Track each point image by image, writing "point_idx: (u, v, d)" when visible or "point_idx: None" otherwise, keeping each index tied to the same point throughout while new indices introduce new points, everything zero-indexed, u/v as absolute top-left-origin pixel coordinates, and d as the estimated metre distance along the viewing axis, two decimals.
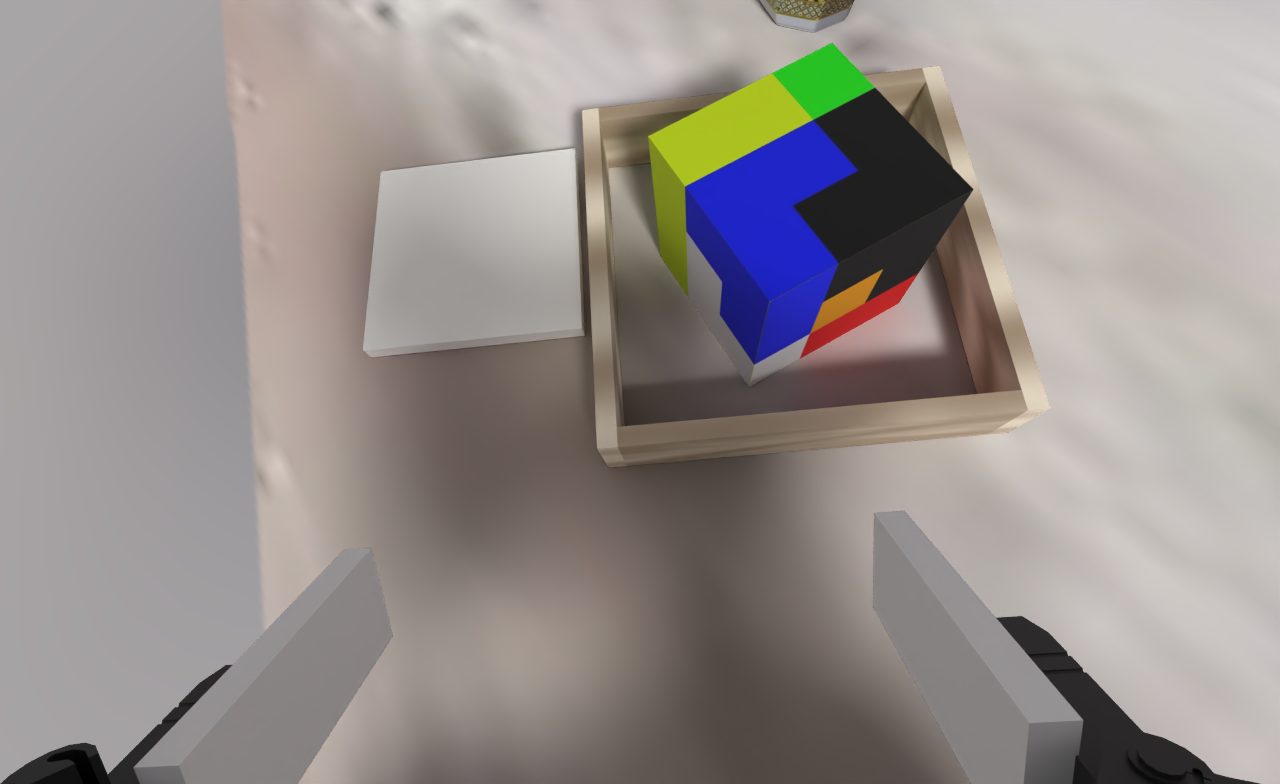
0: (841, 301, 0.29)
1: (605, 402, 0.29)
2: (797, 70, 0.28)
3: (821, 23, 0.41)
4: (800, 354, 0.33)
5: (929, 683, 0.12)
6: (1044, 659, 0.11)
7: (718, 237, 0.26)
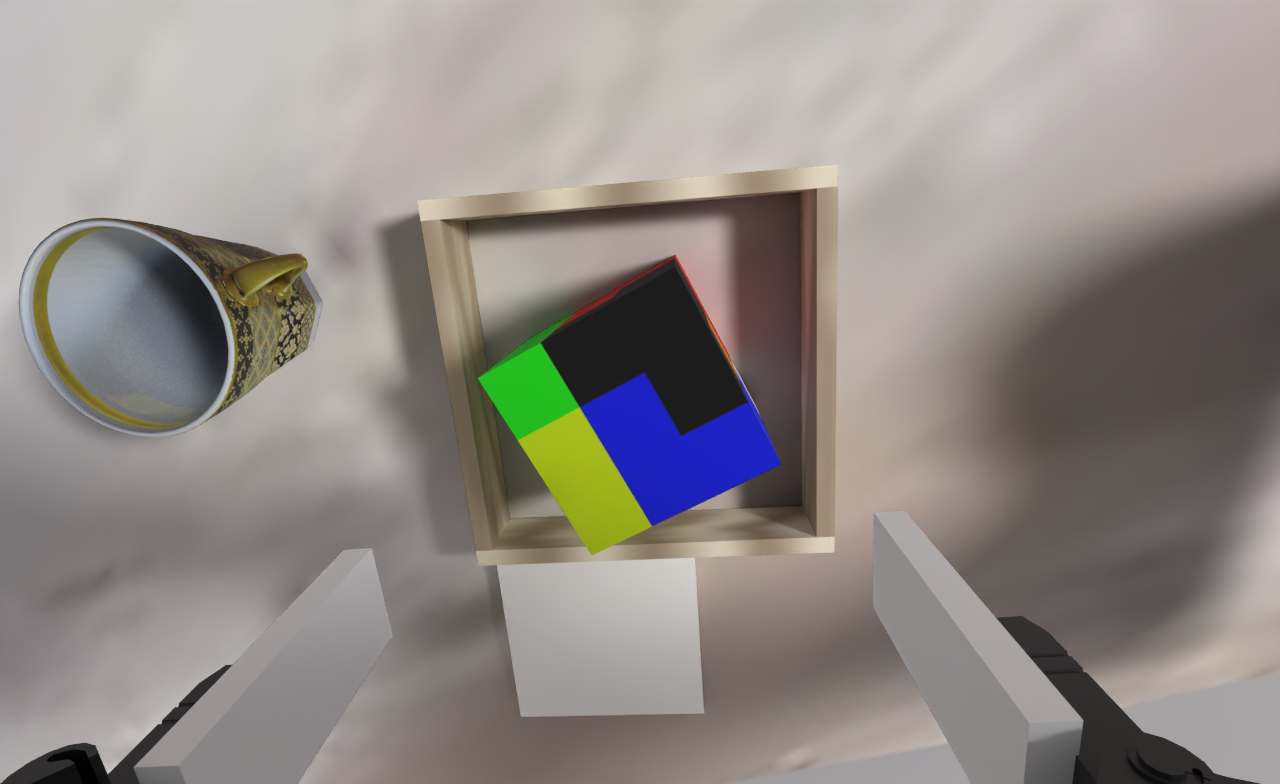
0: (725, 354, 0.30)
1: (793, 545, 0.34)
2: (514, 415, 0.27)
3: (315, 296, 0.36)
4: (730, 358, 0.35)
5: (929, 684, 0.12)
6: (1044, 659, 0.11)
7: (705, 497, 0.28)
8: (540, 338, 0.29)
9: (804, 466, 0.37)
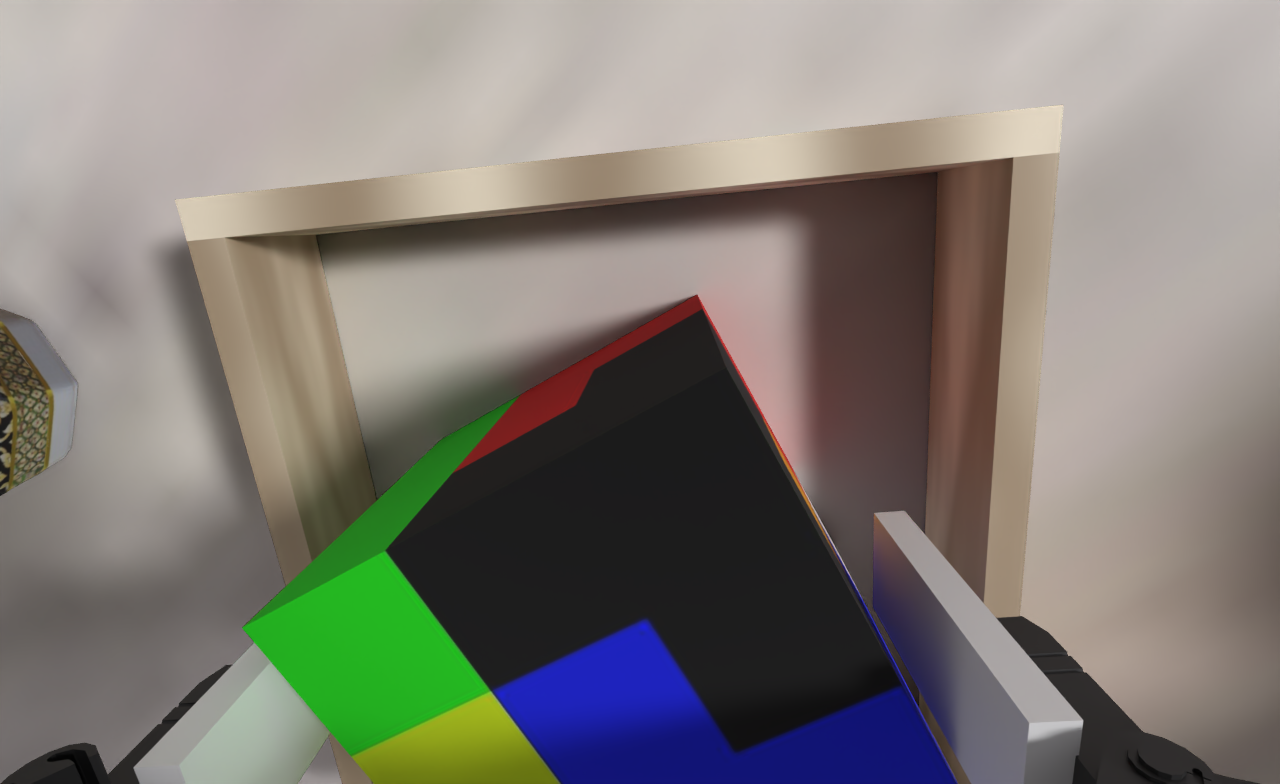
0: (811, 509, 0.15)
1: None
2: (337, 706, 0.11)
3: (56, 376, 0.20)
4: (797, 477, 0.20)
5: (929, 683, 0.12)
6: (1044, 659, 0.11)
7: None
8: (420, 492, 0.14)
9: None
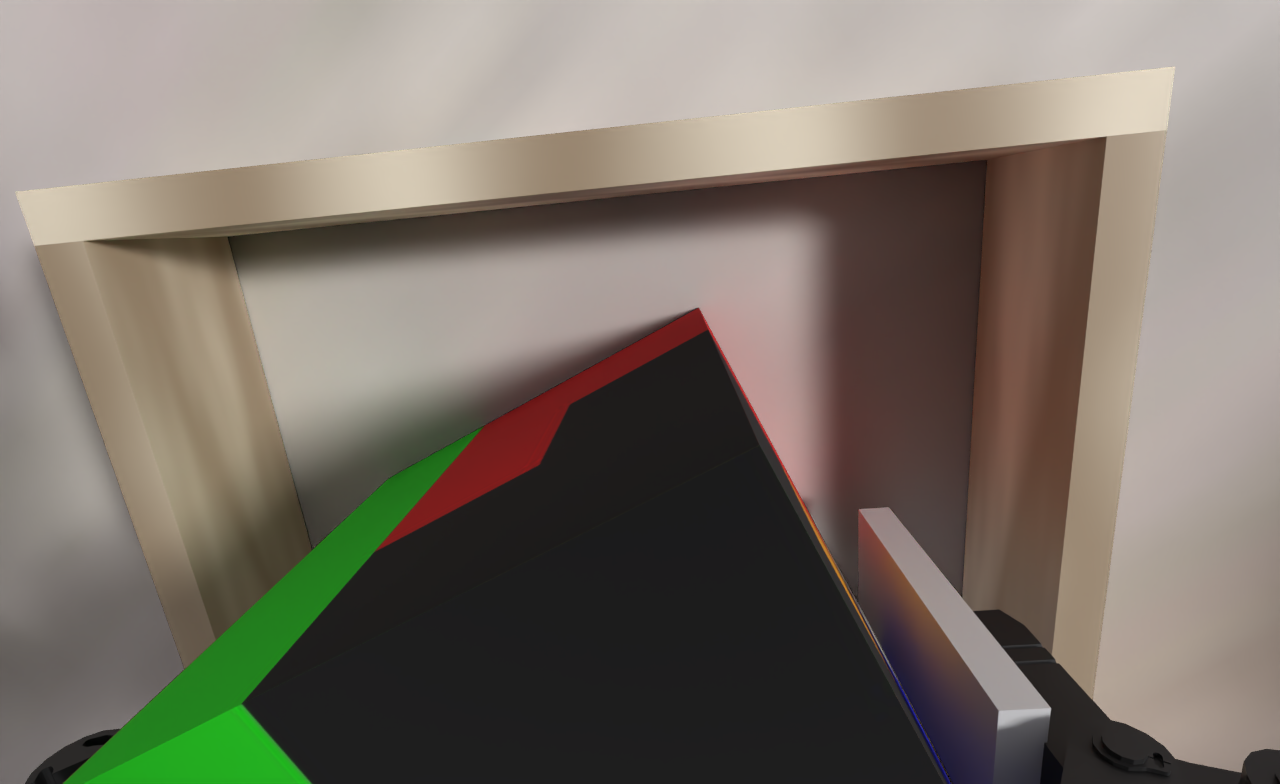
0: None
1: None
2: None
3: None
4: None
5: (909, 675, 0.12)
6: (1019, 651, 0.11)
7: None
8: (331, 577, 0.10)
9: None
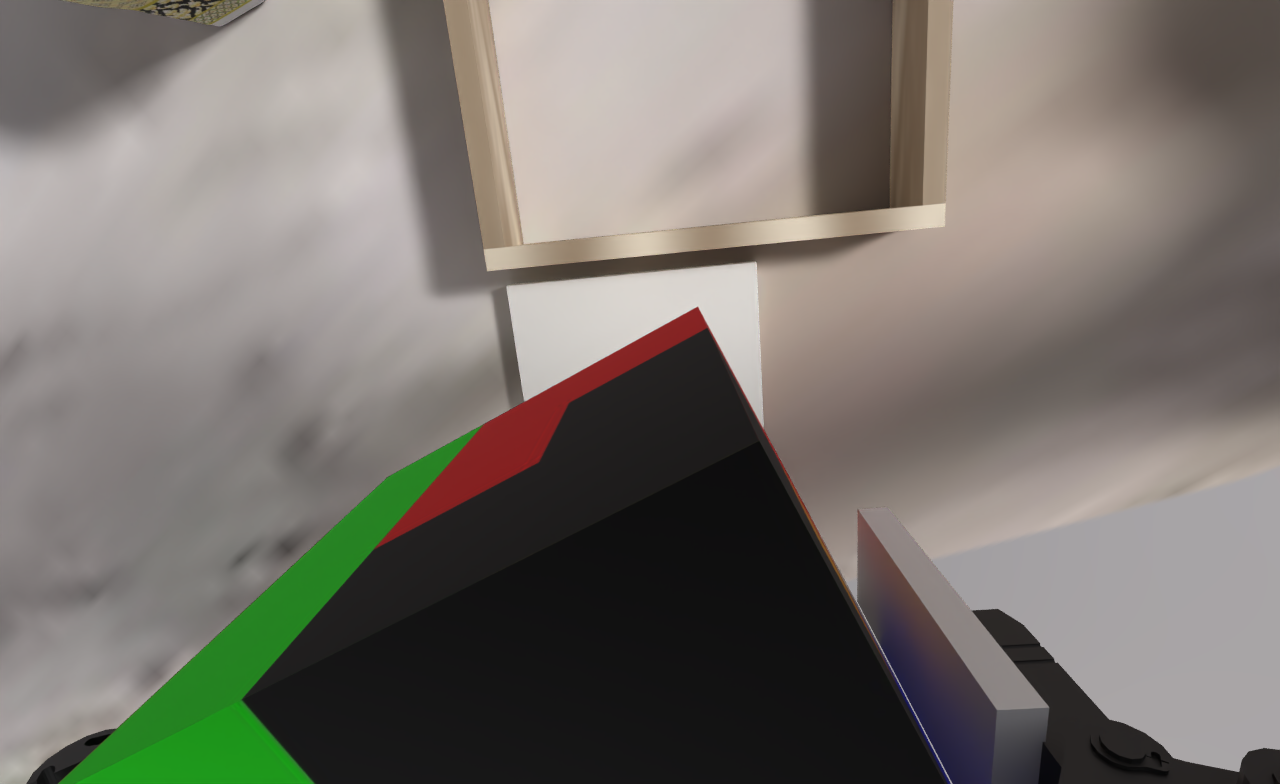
0: (846, 589, 0.11)
1: (892, 219, 0.27)
2: None
3: None
4: None
5: (909, 675, 0.12)
6: (1017, 650, 0.11)
7: None
8: (330, 574, 0.10)
9: (896, 143, 0.29)
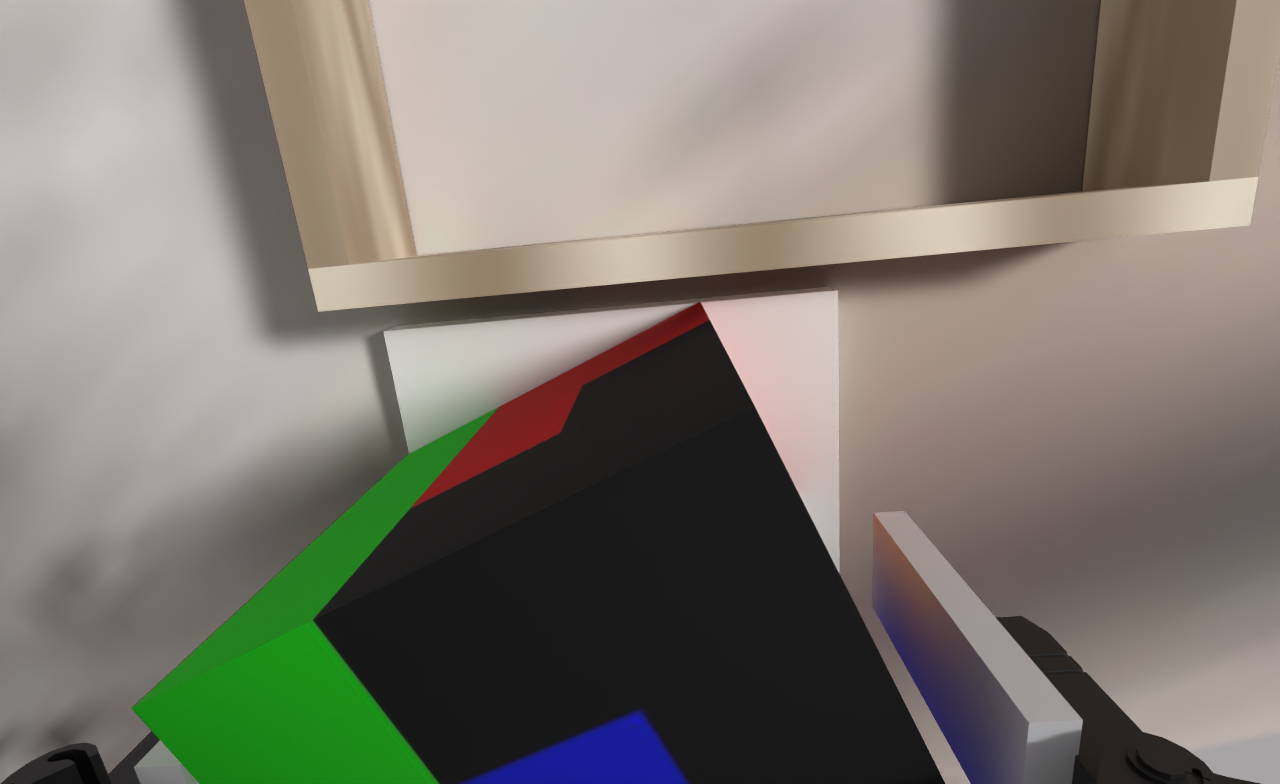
0: None
1: (1142, 210, 0.13)
2: None
3: None
4: None
5: (929, 683, 0.12)
6: (1044, 659, 0.11)
7: None
8: (371, 530, 0.11)
9: (1114, 65, 0.15)
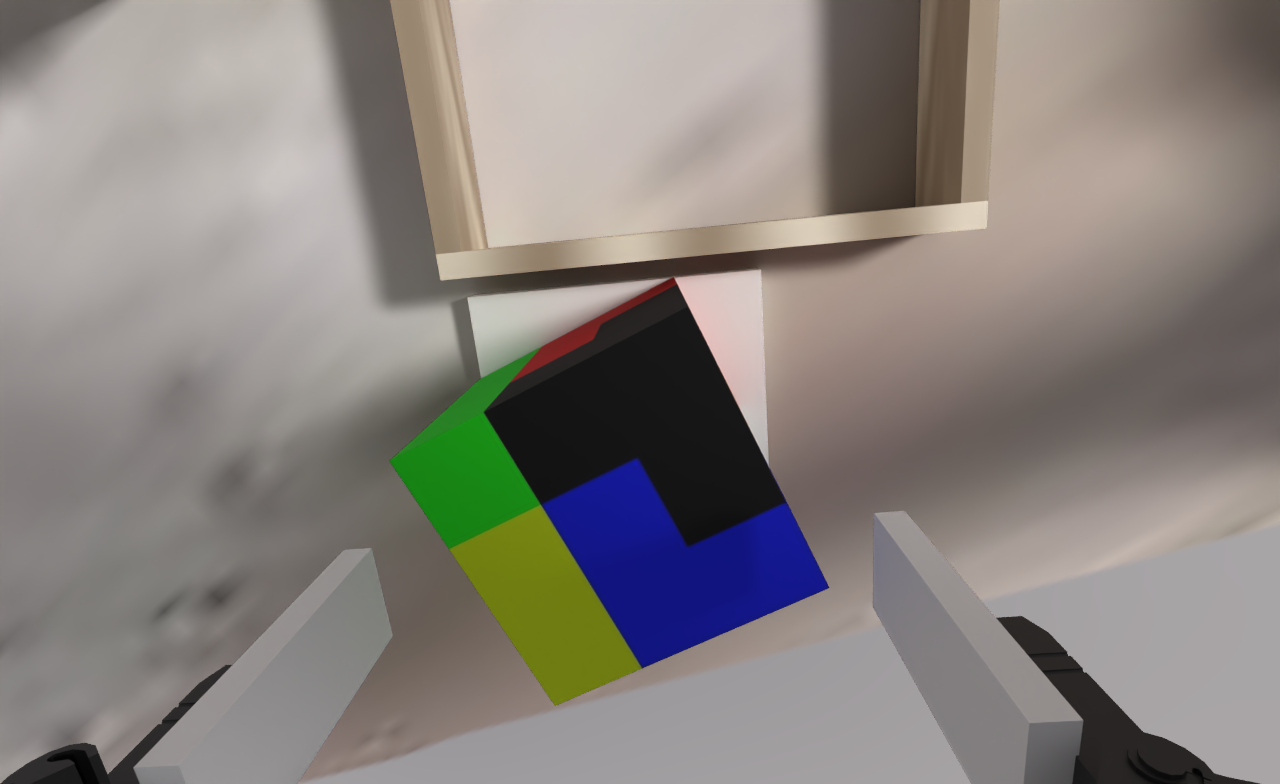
0: None
1: (925, 219, 0.23)
2: (443, 514, 0.18)
3: None
4: None
5: (929, 683, 0.12)
6: (1044, 659, 0.11)
7: (718, 629, 0.20)
8: (487, 395, 0.21)
9: (924, 130, 0.25)
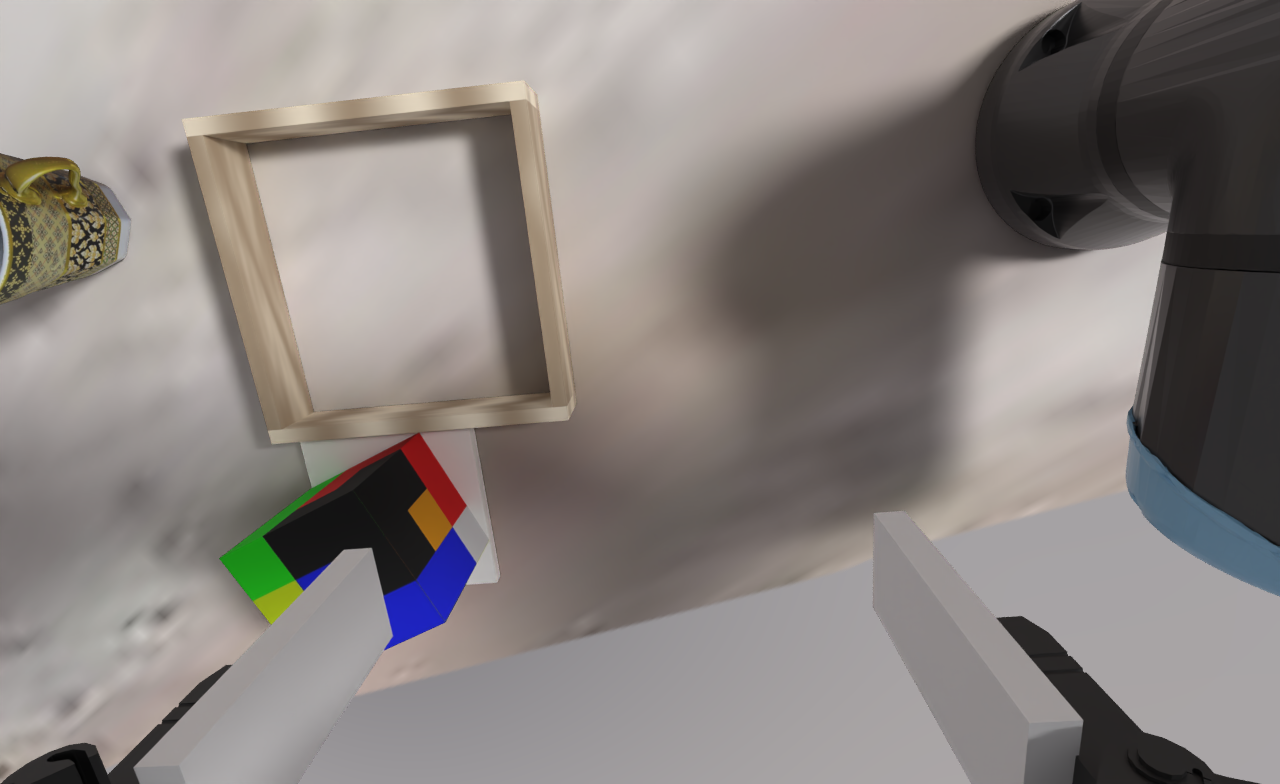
0: (431, 526, 0.40)
1: (534, 415, 0.41)
2: (248, 584, 0.37)
3: (121, 213, 0.41)
4: (464, 511, 0.45)
5: (929, 683, 0.12)
6: (1044, 659, 0.11)
7: (396, 642, 0.38)
8: (283, 516, 0.39)
9: None
